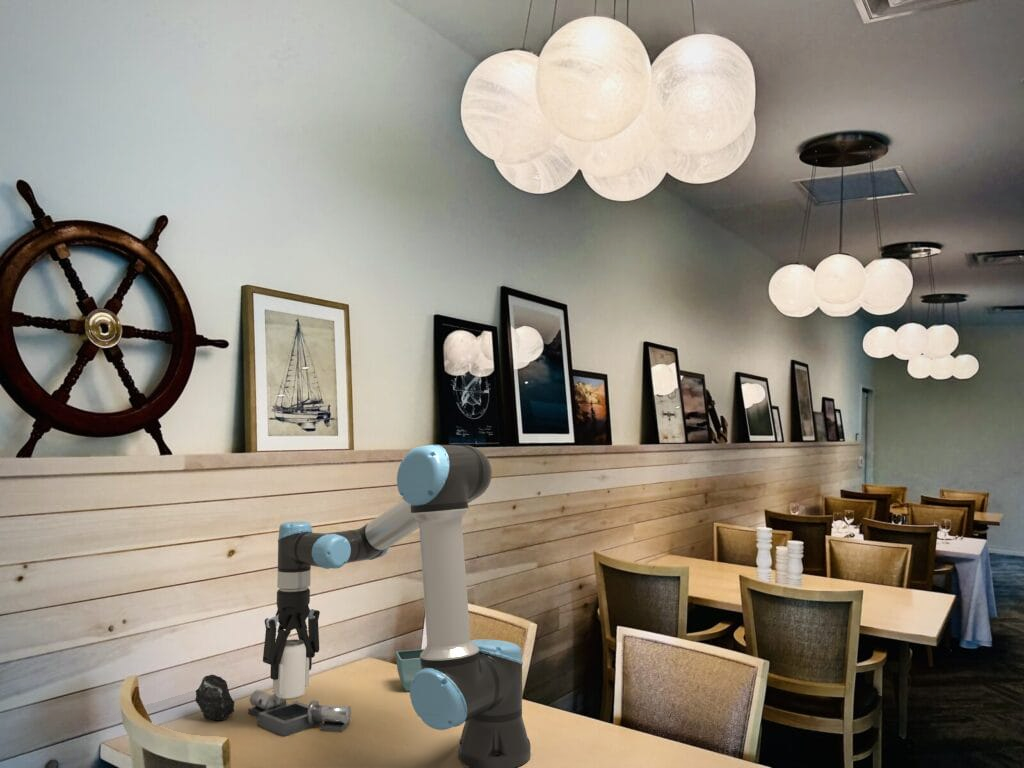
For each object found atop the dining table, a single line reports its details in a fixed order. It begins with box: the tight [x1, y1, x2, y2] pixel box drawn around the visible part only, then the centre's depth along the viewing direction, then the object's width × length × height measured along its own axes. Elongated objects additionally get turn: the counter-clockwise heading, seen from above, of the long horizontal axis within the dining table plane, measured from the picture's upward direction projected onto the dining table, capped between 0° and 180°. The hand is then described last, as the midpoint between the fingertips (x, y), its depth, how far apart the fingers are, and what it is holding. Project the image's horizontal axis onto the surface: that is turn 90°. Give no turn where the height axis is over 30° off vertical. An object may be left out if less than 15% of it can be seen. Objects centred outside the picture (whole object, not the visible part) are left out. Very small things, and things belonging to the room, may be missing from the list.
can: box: [275, 639, 306, 701], centre depth 172 cm, size 6×6×12 cm
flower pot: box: [395, 648, 425, 692], centre depth 197 cm, size 9×9×9 cm
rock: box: [194, 674, 235, 721], centre depth 175 cm, size 8×7×10 cm
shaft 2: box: [307, 699, 352, 733], centre depth 169 cm, size 9×5×6 cm, turn 80°
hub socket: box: [257, 701, 324, 737], centre depth 171 cm, size 10×10×3 cm
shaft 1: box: [247, 689, 287, 719], centre depth 177 cm, size 9×5×6 cm, turn 50°
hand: (290, 689), depth 171 cm, fingers closed on can, 6 cm apart
